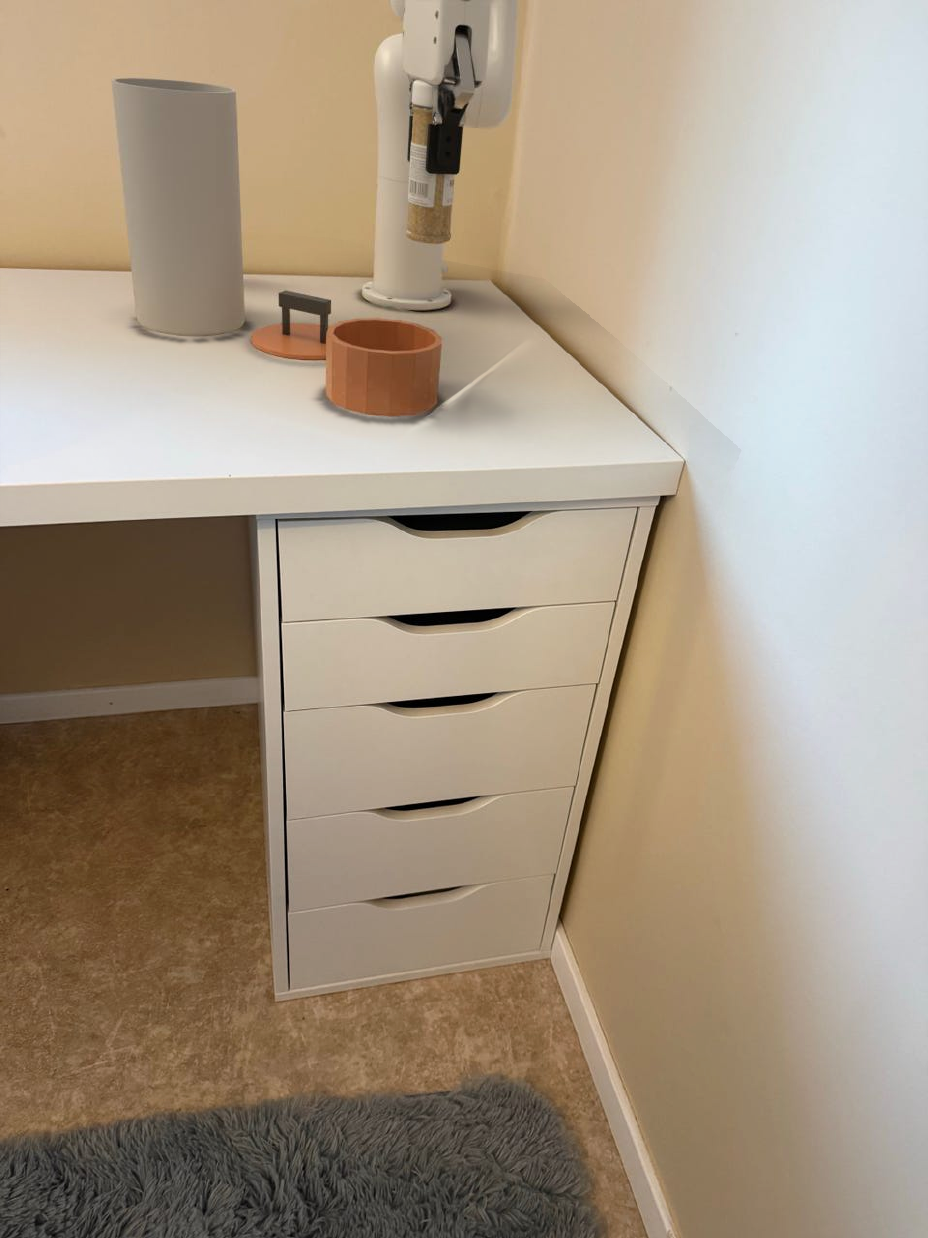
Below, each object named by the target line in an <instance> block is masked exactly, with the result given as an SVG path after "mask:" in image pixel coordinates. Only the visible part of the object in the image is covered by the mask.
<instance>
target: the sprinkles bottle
mask: <svg viewBox="0 0 928 1238" xmlns="http://www.w3.org/2000/svg"><path fill="white" fill-rule="evenodd" d="M441 83H443V84H454V83H450V82H444V81H442V82H441ZM446 95H447V93H443V102H444V100H445V97H446ZM412 103H413V104H414V105H415V106H413V127H412V140H411V149H410V168H409V189H408V201H409V206H408V226H407V230H406V236H407V237H408V238H409V239H411V240H413V241H418V242H423V243H432V244H441V243H444V244H445V243H447V242H449V241H450V240H451V238H452V233H451V227H452V225H451V224H452V211H453V204H454V192H455V191H454V190H455V178H456V177H455V176H456V175H450V174H430V173H428V172H427V171H426V168H425V167H426V152H427V136H428V124H433V119H432V84H429V83H426V82H424V81H420V80H416V81H414V83H413V91H412Z"/></svg>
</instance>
